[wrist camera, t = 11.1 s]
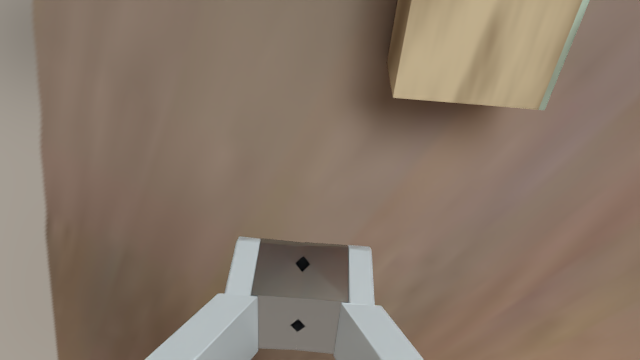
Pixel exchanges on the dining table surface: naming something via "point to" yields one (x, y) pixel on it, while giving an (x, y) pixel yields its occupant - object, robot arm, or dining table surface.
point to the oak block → (481, 50)
